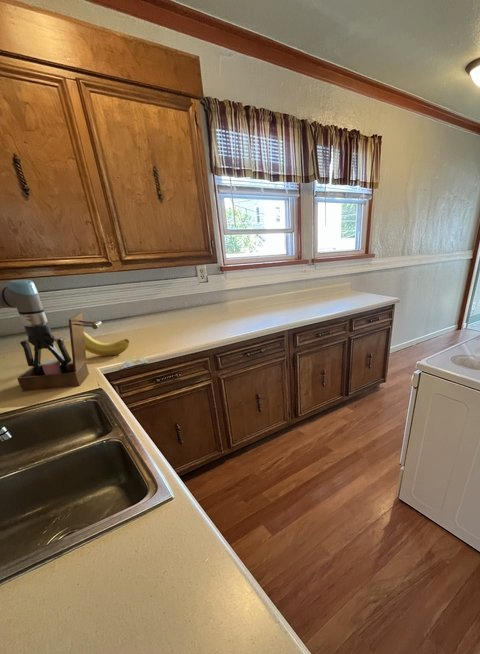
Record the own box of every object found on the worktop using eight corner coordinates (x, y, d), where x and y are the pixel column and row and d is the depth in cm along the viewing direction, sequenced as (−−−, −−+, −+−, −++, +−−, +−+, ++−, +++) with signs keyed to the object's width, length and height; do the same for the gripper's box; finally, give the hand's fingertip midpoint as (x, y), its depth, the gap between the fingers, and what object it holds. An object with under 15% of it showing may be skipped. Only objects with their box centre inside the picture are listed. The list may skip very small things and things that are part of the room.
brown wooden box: (23, 393, 125) (16, 378, 122) (37, 380, 136) (32, 366, 133) (80, 387, 129) (75, 373, 126) (90, 375, 140) (85, 362, 137)
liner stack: (45, 386, 129) (36, 364, 125) (53, 379, 134) (45, 359, 130) (62, 384, 130) (55, 363, 126) (70, 378, 135) (62, 358, 131)
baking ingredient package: (148, 361, 153) (114, 369, 145) (148, 362, 154) (114, 370, 145) (142, 356, 159) (109, 364, 151) (143, 357, 160) (109, 365, 151)
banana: (132, 350, 170) (122, 312, 161) (131, 354, 166) (121, 314, 156) (82, 356, 163) (69, 316, 154) (80, 360, 158) (66, 318, 149)
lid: (68, 319, 118) (94, 322, 120) (79, 312, 129) (103, 315, 131) (73, 371, 126) (98, 373, 129) (84, 361, 137) (106, 362, 140)
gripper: (-1, 328, 116) (24, 386, 126) (62, 324, 120) (80, 381, 131) (10, 323, 122) (32, 379, 133) (69, 320, 127) (86, 374, 137)
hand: (56, 380), depth 132 cm, fingers open, 7 cm apart
